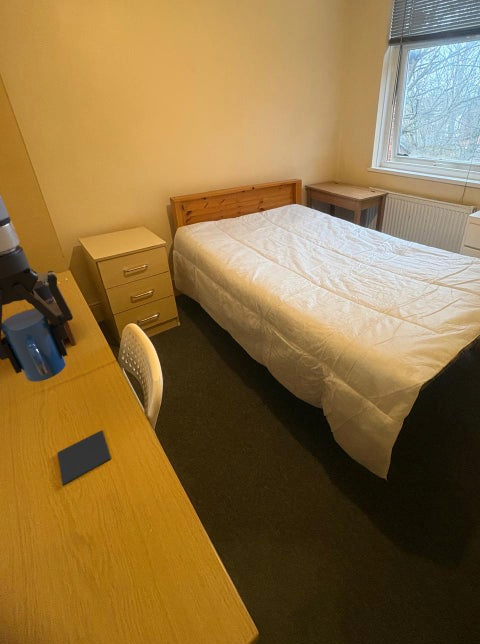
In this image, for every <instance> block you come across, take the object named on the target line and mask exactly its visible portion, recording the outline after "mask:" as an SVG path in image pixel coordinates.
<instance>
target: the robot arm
mask: <svg viewBox="0 0 480 644" xmlns="http://www.w3.org/2000/svg"><path fill="white" fill-rule="evenodd" d="M20 243H21V241H20V238H19V236H18V234H17V231H16V227H14V224H13V221H12V220H11V217H10V215H9V212H8V209H7V207H6V205H5V202H4V200H3V197H2V195H1V194H0V360H1V361H4V360H7V359H8V360H9V362H10V364H11V366H12V368H13V370H14V372H15V374H20V373H22V372H23V371H22V369H21V367H20V365H19V363H18V361H17V359H16V357H15V355H14V353H13V351H12V349H11V347H10V345H9V343H8V341H7V339H6V337H5V336H4V337H2V322H3V306H6V305H10V304H12V303H14V302H20V301H26V303H28V304H30V305H31V306H32V307H35V308H36V309H37V310H38V311H39V312H40V313H42V314H43V315H44V316H45V317H46V318H47V319H48V320H49V321H50V322H51V323H50V325H51V329H52V332H53V334H54V337H55V339H56V342H57V344H58V346H59V349H60V351H61V353H62V356H63V357H64V358H65V357H66V356H68V351H67V348H66V345H65V343H64V340H65V339H68V338H69V337H68V335H67V332H66V329H65V326H64V323H65V322H67V321H69V322H70V321H72V320H73V318H74V316H73V314H72V311H71V309H70V307H69V305H68V302H67V301H66V299H65V297H64V295H63V293H62V292H61V290H60V288H59V285H58V277H57V274H56V272H55V271H54V270H48V271H47V272H40V273H39V272H38V273H37V271H35V270H34V269H33V268H32V267H31V265H30V263H29V260H28V258H27V255H26V253H25V251H24V248H23V247H22V246H21V245H20ZM37 281H42V283H43V285H48V286H49V290H50V292H51V294H52V296H53V298H54V301H55V302H56V303H57V305H58V307H59V309H60V310H61V312H62V314H61V315H58V314H57V313H56V312H55V311H54V310H53V309H52V308H51V307H50V306H49V305H48V304H47V303H46V302H45V301H44V300H43V299H41V298H40V297H39V296H38V295H37V293H36V292H35V291H34V290H33V288H34V286H35V284H36V282H37Z"/></svg>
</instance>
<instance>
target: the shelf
mask: <svg viewBox="0 0 480 644" xmlns="http://www.w3.org/2000/svg"><path fill="white" fill-rule="evenodd" d="M48 305H49V306H50V307H51V308H52V309H53V310H54V311H55V312H56V313H57V314H58V315H61V314H62V312H61V310H60V309H59V307H58V305H57V303H56V301H55V303H51V304H48ZM28 310H37V309H36V308H30V309H26V310H23V311H22V312H24V311H28ZM48 321H49V320H48ZM49 323H51V322H50V321H49ZM64 326H65V329H66V332H67V335H68V337H67V338H68V339H69V342H70V345H71V346H72V347H73V346H77V342H76V339H75V336H74V333H73V330H72V327H71V324H70V321H67V322H65V323H64Z"/></svg>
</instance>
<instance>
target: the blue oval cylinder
mask: <svg viewBox="0 0 480 644" xmlns="http://www.w3.org/2000/svg"><path fill="white" fill-rule="evenodd" d="M27 310H28V311H26V310H23V311H24V312H23V311H19V312H18V313H15V314H12V315H11V316H8V317H7V318H6V319H4V320H2V330H1V332H2V333H3V335H4V338H5V337H6V339H7V341H8V343H9V345H10V347H11V349H12V351H13V353H14V355H15V357H16V359H17V361H18V363H19V365H20V367H21V369H22V372H23V375H24V376H25V378H26V380H27V381H29V382H34V383H37V382H43V381H47V380H49V379H51V378H53V377H55V376H57V375H59V374H60V373H61V372H62V371H63V370H64V369H65V367H66V365H67V362H66V359H65V356H64V357H63V356H62V353H61V351H60V349H59V346H58V344H57V342H56V339H55V337H54V334H53V332H52V329H51V325H50V323H49V321H48V319H47V318H46V317H45V316H44V315H43V314H42V313H40V312H39V311H38V310H30V309H27Z"/></svg>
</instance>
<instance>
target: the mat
mask: <svg viewBox="0 0 480 644" xmlns="http://www.w3.org/2000/svg"><path fill="white" fill-rule="evenodd" d="M57 458H58V464H59V470H60V476H61V477H60V478H61V484H62V486H65V485H67V484H69V483H72V482H73V481H74V480H76V479H78V478H80V477H82V476H84V475H85V474H87V473H89V472H91V471H93V470H94V469H96V468H99V467H100V466H101V465H103V464H105V463H107V462H109V461H111V460H112V458H111V454H110V451H109V447H108V444H107V440H106V438H105V434H104V430H99V431H97V432H95V433H93V434H91V435H89V436H87V437H85V438H83V439H81V440H79V441H77V442H75V443H73V444H71V445H69V446H67V447H65V448H63V449H61V450H59V451H57Z"/></svg>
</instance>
